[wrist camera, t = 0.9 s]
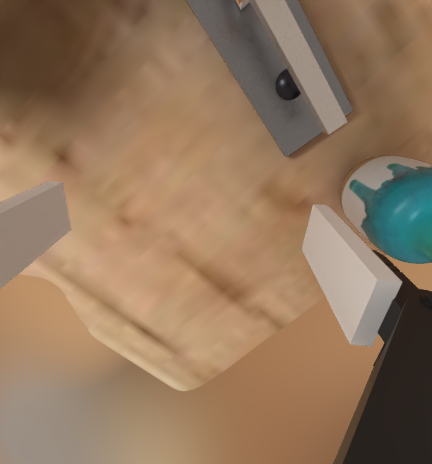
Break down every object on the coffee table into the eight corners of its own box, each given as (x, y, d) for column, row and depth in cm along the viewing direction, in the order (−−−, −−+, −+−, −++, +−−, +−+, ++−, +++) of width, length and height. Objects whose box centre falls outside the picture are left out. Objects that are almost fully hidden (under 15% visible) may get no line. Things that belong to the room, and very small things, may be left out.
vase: (360, 230, 43) (448, 314, 26) (315, 190, 41) (378, 254, 24) (419, 180, 40) (566, 239, 22) (372, 132, 37) (498, 158, 20)
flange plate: (140, -71, 29) (136, -79, 28) (213, -159, 26) (213, -172, 25) (284, 155, 39) (286, 157, 38) (349, 110, 36) (353, 110, 35)
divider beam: (175, -87, 28) (148, -187, 18) (196, -111, 27) (179, -229, 17) (301, 128, 36) (328, 138, 27) (320, 115, 35) (355, 119, 26)
